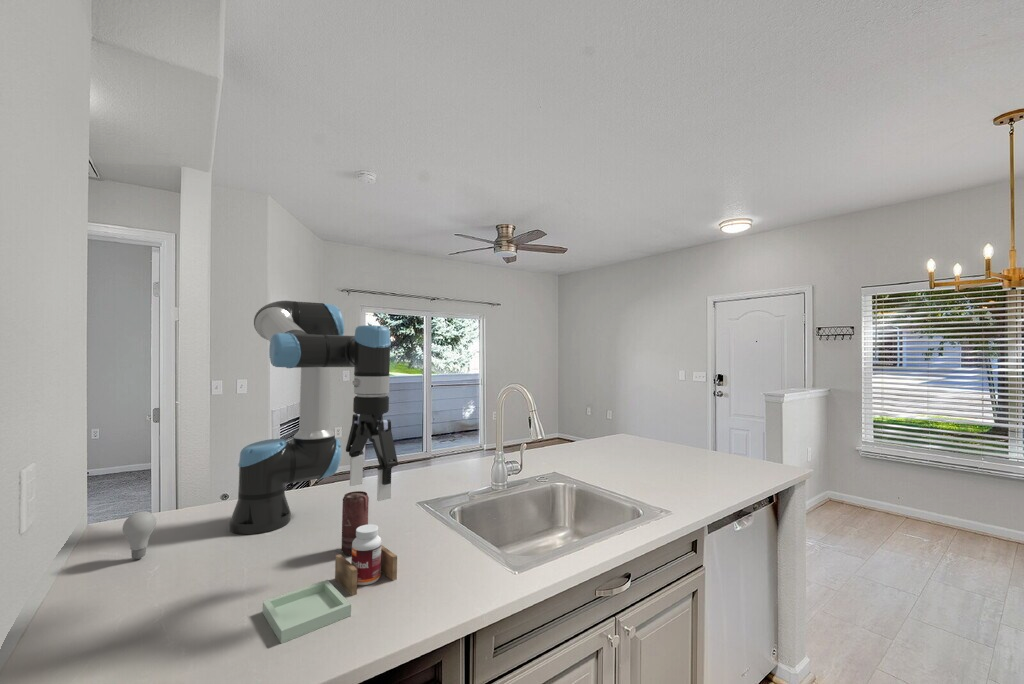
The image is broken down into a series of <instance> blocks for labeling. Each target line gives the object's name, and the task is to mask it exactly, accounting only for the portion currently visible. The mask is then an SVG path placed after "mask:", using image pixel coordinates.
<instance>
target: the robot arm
mask: <svg viewBox="0 0 1024 684" xmlns="http://www.w3.org/2000/svg"><path fill="white" fill-rule="evenodd" d="M344 322H345V321H344V316H343V314H342V312H341V309H340V308H339V307H338V306H337V305H334V304H330V303H325V302H308V301H295V300H294V301H293V300H278V301H273V302H270V303H268V304H265V305H263V306H262V307H261V308H260V309H258V310H257V312H256V313H255V315H254V318H253V327H254V329H255V331H256V333H257V334H258V335H259V336H260V337H261V338H263V339H265V340H266V341H268V342H269V347H268V348H269V359H270V363H271V365H272V366H273V367H275V368H286V369H296V368H297V369H298V368H299V369H300V391H299V392H300V393H299V394H300V395H299V397H300V398H299V421H298V422H299V426H298V427H299V428H298V429H299V430H298V431H297V432H296V433H295V434H294V435H293V438H292V439H293V441H292V442H287V441H286V440H287V439H285V438H271V439H265V440H260V441H256V442H252V443H250V444H248V445H246V446H244V447H243V448H242V449H241V451H240V452H239V461H238V464H237V466H238V469H239V470H238V471H239V472H238V491H237V492H238V493H237V495H238V496H237V502H236V504H235V507H234V509H233V511H232V515H231V517H230V520H229V530H230V532H232V533H233V534H238V535H255V534H261V533H268V532H272V531H276V530H278V529H280V528H282V527H284V526H287V525H288V524H289V523H290V521H291V519H292V518H291V517H292V516H291V515H292V514H291V513H292V512H291V509H290V506H289V503H288V500H287V496H286V493H285V490H286V488H285V487H286V485H287V484H288V485H289V484H293V483H300V482H307V481H314V480H322V479H324V478H330V477H332V476H334V475H335V474H336V472H337V471H338V469H339V466H340V462H341V457H342V448H341V446H342V445H341V441H340V440H339V438H336V437H335V435H336V434H335V432H334V431H333V430H332V429H331V427H330V424H331V397H332V396H331V391H332V389H331V387H332V386H331V385H332V384H331V383H332V368H354V370H353V375H354V376H353V380H352V385H353V394H355V395H356V396H354V397H353V403H352V404H353V407H352V408H353V410H352V412H353V414H352V421H351V426H350V430H349V435H348V439H347V442H346V446H345V453H348V456H349V457H350V460H349V462H350V464H349V486H350V487H354V486H355V487H356V486H360V485H363V480H364V479H363V477H364V476H363V473H364V472H363V471H364V466H363V465H364V456H363V455H364V454H365V453H364V448H365V447H366V444H367V443H368V441H369V442H371V443H372V446H373V448H374V449H373V450H374V452H375V455H376V456H375V457H376V459H377V462H378V465H379V466H377V469H376V470H377V482H376V483H377V485H376V486H377V489H376V490H377V491H376V492H377V493H376V495H377V496H376V497H377V498H376V501H378V502H380V501H384V500H385V501H386V500H389V499H390V500H391V499H392V469H393V468H394V467H397V466H398V465H399V462H398V458H397V457H398V456H397V452H396V446H395V442H394V438H393V437H394V436H393V433H392V432H393V431H392V421H391V419H384V417H383V416H384V415H385V414H386V413H388V412H389V411H390V397H389V396H388V394H389V393H390V380H391V379H390V378H391V377H390V364H391V360H390V359H391V345H392V341H391V330H390V329H389V327H387V326H384V325H369V324H368V325H358V326H357V327H355V329H354V330H355V331H354V335H344V334H345V323H344Z"/></svg>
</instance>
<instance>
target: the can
mask: <svg viewBox="0 0 1024 684" xmlns="http://www.w3.org/2000/svg"><path fill="white" fill-rule="evenodd" d="M369 498H370V497H369V495H368V493H367V492H366V491H359V490H358V491H350V492H348V493H345V494H344V496H343V498H342V512H341V513H342V514H341V515H342V516H341V520H342V521H341V546H340V547H341V553H342V554H343V555H346V556H350V557H352V542H353V540H354V539H355V538H356V529H357V528H358V527H360V526H363V525H368V524H369V502H370V501H369Z"/></svg>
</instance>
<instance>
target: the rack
mask: <svg viewBox="0 0 1024 684" xmlns="http://www.w3.org/2000/svg"><path fill="white" fill-rule="evenodd" d="M334 562H335V564H334V565H335V566H334V569H335V570H334V580H336V582H337V583H338V584H339V585H341V586H342V587H343V589H344V590H346V592H348V593H349V595H351V596H355V595H357V594H358V585H357V568H355V567H354V566H353V565H352V564H351V562H350V561H349V560H347V558H345V557H344V556H343V555H342V554H340V553H339V554H336V555H335V561H334ZM381 573H382V574H383V575H385V576H386V577H387V578H389V579H390V580H391V581H395V580H397V579H398V555H397V554H395V553H394V552H392V551H391V550H390V549H388V548H387V547H386V546H384V545H383V544H381Z"/></svg>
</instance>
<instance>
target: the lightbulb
mask: <svg viewBox="0 0 1024 684" xmlns="http://www.w3.org/2000/svg"><path fill="white" fill-rule="evenodd" d="M156 526H157V518H156V516H155V514H153V513H152V512H149V511H146V510H145V511H137V512H135V513H132V514H131V515H129V516H128V517H127V518H126V519H125V521H124V523H123V525H122V532H123V533H122V534H124V536H125V537H126V539H127V541H128V543H129V546H130V547H129V549H130V550H131V558H132V559H133V560H134V559H135V560H141V559H142V558H143V557H144V556H145V555H146V552H147V547H148V545H149V541H150V537H151V535H152V533H153V532H154V530H155V528H156Z"/></svg>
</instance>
